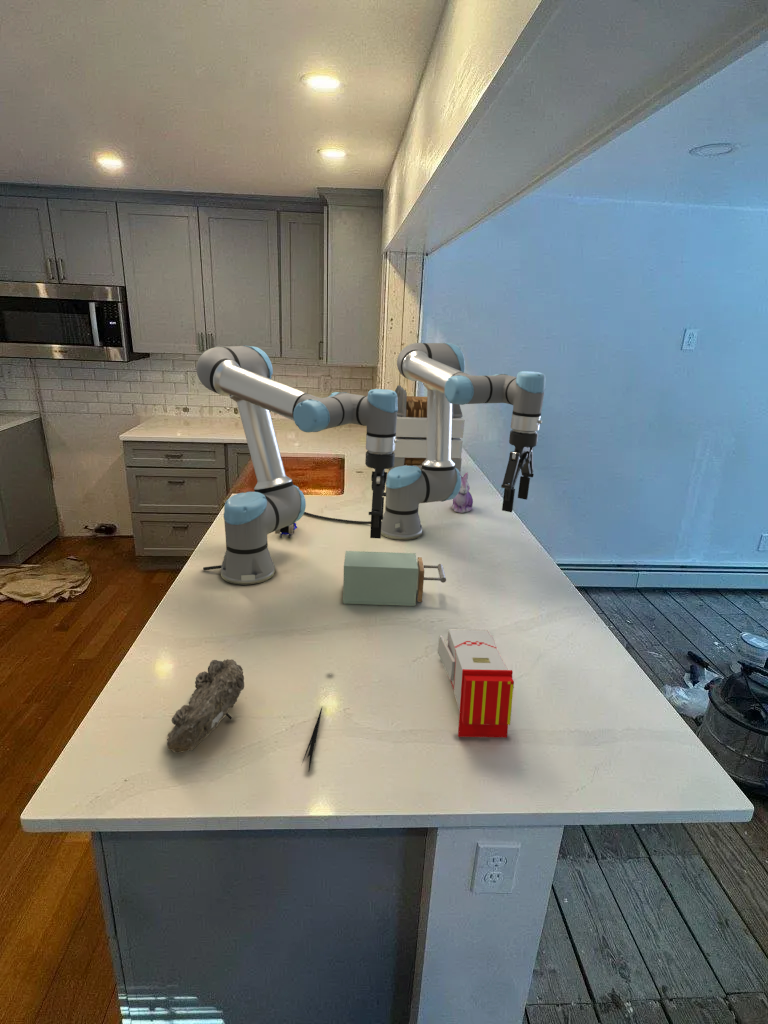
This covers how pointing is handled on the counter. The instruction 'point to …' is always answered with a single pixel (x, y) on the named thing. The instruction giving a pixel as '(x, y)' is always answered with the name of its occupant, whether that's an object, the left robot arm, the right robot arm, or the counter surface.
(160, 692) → the counter surface
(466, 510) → the figurine
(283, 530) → the figurine character
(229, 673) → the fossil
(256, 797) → the counter surface
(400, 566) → the cabinet
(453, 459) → the white slatted crate
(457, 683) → the toy
